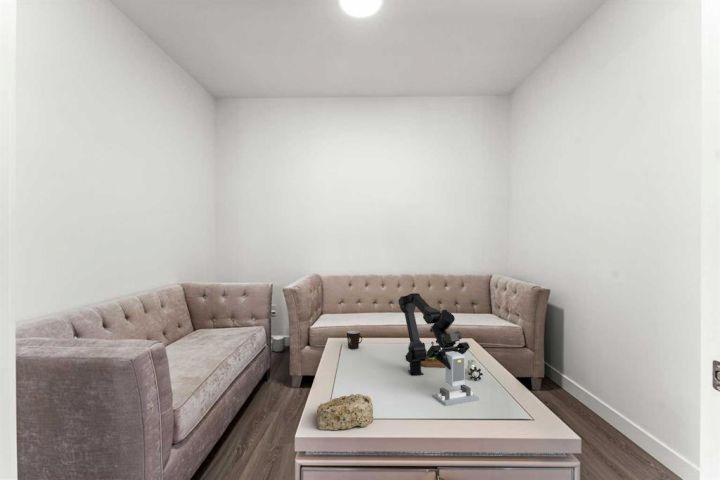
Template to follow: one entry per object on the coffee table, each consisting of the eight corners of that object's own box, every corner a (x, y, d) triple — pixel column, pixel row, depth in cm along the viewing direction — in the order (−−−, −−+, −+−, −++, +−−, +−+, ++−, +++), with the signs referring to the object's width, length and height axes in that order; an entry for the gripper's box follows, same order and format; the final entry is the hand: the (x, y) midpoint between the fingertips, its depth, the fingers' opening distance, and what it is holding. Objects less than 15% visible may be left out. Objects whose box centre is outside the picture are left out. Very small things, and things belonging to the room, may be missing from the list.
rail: (445, 406, 145) (445, 395, 145) (432, 396, 154) (432, 386, 154) (478, 400, 150) (478, 389, 150) (463, 391, 160) (463, 381, 160)
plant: (449, 358, 209) (449, 338, 210) (454, 369, 190) (454, 347, 190) (414, 356, 212) (414, 337, 212) (415, 367, 192) (415, 346, 193)
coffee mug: (345, 346, 232) (345, 331, 233) (357, 345, 235) (357, 330, 235) (349, 351, 221) (349, 335, 222) (363, 350, 224) (363, 334, 224)
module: (445, 382, 154) (445, 353, 154) (457, 380, 156) (457, 352, 156) (453, 386, 148) (453, 357, 149) (465, 384, 150) (465, 355, 151)
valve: (464, 372, 184) (468, 380, 173) (464, 359, 185) (468, 366, 173) (477, 373, 184) (482, 381, 172) (477, 359, 184) (482, 367, 172)
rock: (318, 437, 122) (315, 405, 125) (317, 427, 136) (315, 399, 139) (378, 426, 125) (373, 395, 128) (371, 417, 139) (367, 390, 142)
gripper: (430, 326, 153) (445, 360, 143) (467, 323, 160) (484, 355, 149) (420, 341, 160) (434, 374, 150) (456, 337, 167) (471, 369, 157)
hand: (456, 368), depth 151 cm, fingers closed on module, 6 cm apart
